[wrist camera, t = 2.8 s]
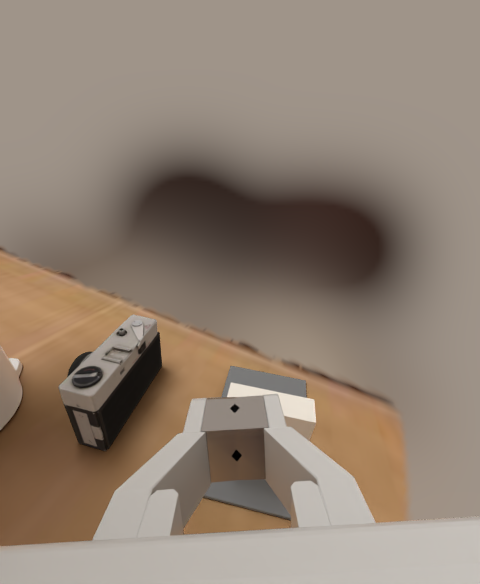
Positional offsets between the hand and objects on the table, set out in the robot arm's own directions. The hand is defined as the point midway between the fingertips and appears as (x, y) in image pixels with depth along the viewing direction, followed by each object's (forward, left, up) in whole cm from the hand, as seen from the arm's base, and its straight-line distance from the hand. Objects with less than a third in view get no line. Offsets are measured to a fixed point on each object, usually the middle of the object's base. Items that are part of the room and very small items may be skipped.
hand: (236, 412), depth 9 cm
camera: (-18, +15, -24) cm, 34 cm away
